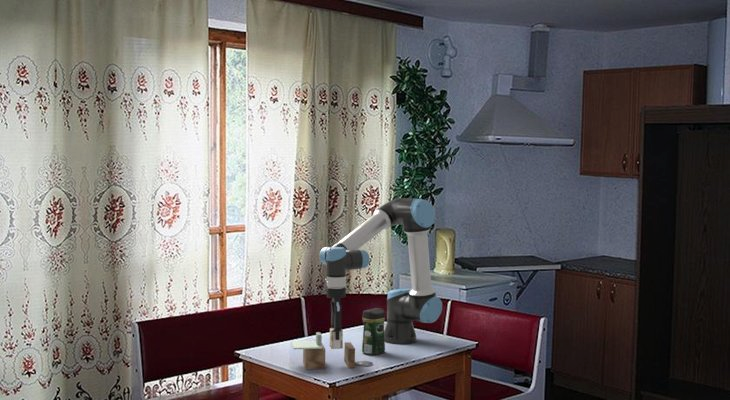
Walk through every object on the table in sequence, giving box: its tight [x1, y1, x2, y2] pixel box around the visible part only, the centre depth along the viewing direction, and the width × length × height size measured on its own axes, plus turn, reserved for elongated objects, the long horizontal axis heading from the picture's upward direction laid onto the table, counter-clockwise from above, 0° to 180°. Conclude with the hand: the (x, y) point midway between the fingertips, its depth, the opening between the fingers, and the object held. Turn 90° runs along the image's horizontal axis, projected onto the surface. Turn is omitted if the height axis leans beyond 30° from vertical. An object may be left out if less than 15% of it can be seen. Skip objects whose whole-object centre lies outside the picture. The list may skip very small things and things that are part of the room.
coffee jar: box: [361, 307, 386, 356], centre depth 329 cm, size 10×8×19 cm
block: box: [329, 327, 344, 350], centre depth 308 cm, size 4×4×7 cm
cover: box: [290, 331, 323, 350], centre depth 306 cm, size 11×12×5 cm
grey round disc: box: [355, 360, 373, 367], centre depth 310 cm, size 7×7×1 cm
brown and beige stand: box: [302, 341, 356, 370], centre depth 308 cm, size 19×11×8 cm, turn 100°
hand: (336, 346), depth 308 cm, fingers closed on block, 4 cm apart
